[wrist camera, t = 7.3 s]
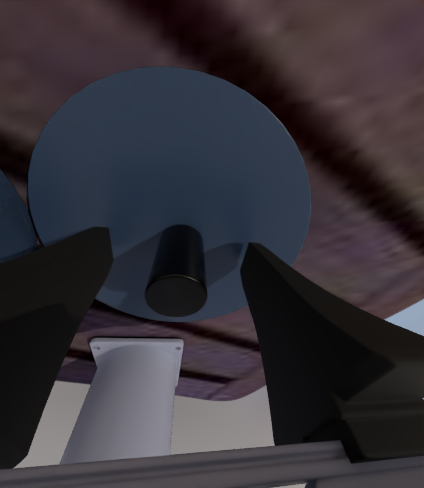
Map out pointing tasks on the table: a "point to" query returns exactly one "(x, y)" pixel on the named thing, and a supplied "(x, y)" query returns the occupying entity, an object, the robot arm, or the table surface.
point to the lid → (171, 187)
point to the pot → (14, 224)
